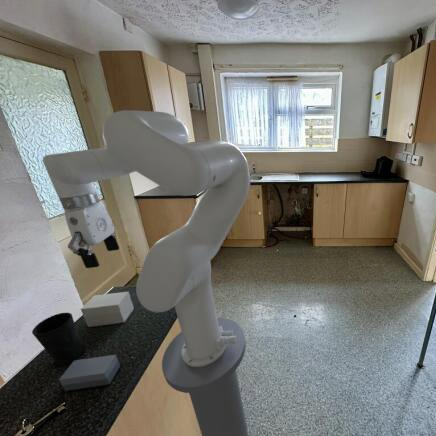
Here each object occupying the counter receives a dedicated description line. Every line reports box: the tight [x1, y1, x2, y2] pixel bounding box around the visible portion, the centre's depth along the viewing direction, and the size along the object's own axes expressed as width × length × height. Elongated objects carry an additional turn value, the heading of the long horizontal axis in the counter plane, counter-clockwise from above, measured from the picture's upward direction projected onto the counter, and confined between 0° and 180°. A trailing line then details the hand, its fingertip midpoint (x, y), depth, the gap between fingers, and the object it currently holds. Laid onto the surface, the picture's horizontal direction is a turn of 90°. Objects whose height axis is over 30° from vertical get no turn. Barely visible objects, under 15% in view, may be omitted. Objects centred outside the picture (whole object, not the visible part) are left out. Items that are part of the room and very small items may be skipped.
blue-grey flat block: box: [58, 354, 119, 386], centre depth 59 cm, size 10×5×2 cm, turn 98°
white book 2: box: [85, 303, 135, 328], centre depth 79 cm, size 11×6×2 cm, turn 98°
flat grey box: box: [80, 291, 131, 316], centre depth 77 cm, size 11×6×2 cm, turn 98°
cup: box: [31, 312, 84, 366], centre depth 64 cm, size 8×8×12 cm
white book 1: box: [82, 298, 133, 322], centre depth 78 cm, size 11×6×2 cm, turn 98°
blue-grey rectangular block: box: [61, 360, 121, 392], centre depth 60 cm, size 10×5×2 cm, turn 98°
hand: (104, 258), depth 68 cm, fingers open, 9 cm apart
